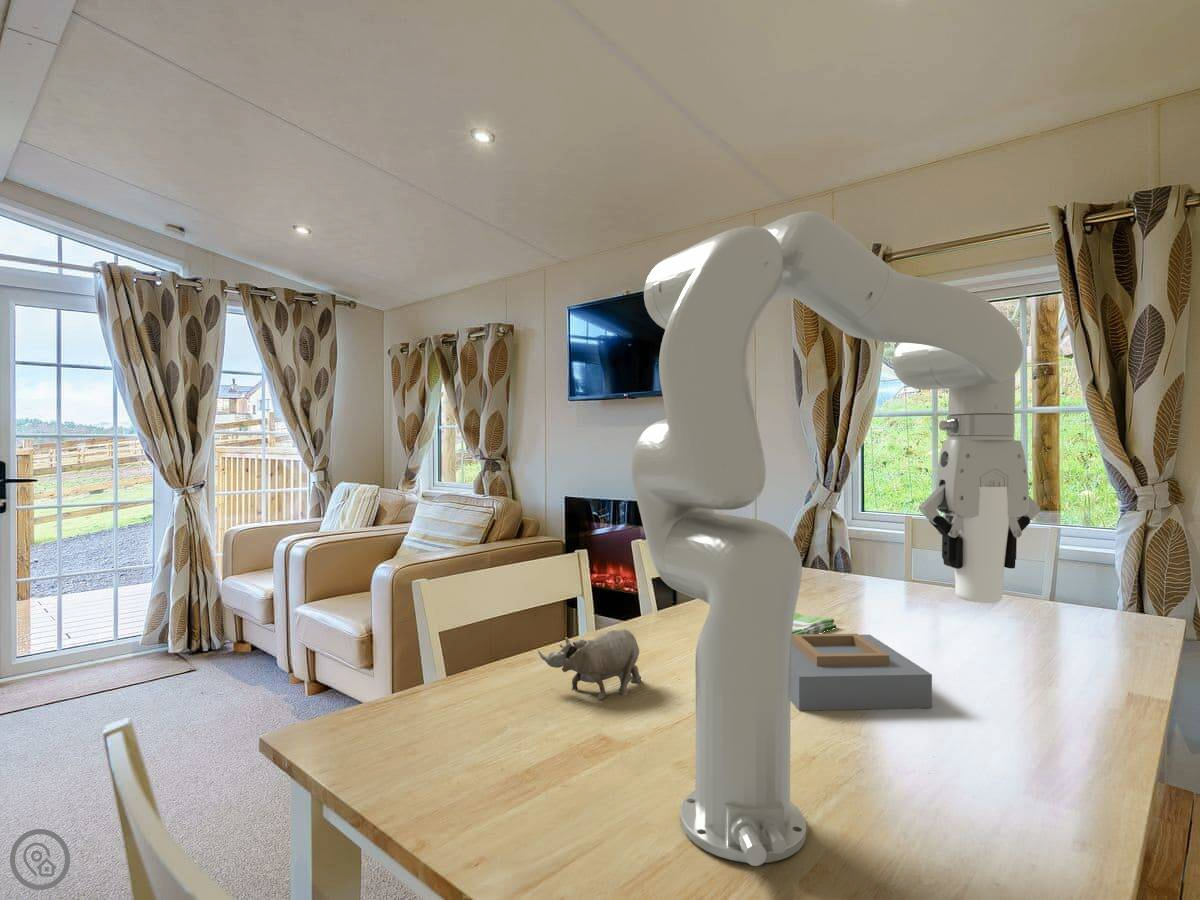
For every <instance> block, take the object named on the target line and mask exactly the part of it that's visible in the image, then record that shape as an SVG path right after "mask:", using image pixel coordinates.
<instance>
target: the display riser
mask: <svg viewBox="0 0 1200 900" xmlns="http://www.w3.org/2000/svg"><path fill="white" fill-rule="evenodd" d="M932 692H933V674H932V673H931V672H929V671H928V670H926V669H924V668H923V667H921V666H919V665H918V664H916V663H915V662H913V661H911V660H910V659H908V658H907V657H906V656H905V655H902V654H901V653H899V652H898V651H896V650H894V649H893V648H892V647H889V646H888V645H886V644H885V643H884V642H882V641H880V639H878V638H876V637H874V636H873V635H871V634H858V633H823V634H792V641H791V700H790V703H792V704H793V705H794V706H795V708H796V709H797V710H798V712H799V711H801V712H802V711H838V710H839V711H841V710H845V711H846V710H847V711H849V710H852V711H853V710H854V709H855V710H895V709H896V710H899V709H903V710H905V709H932V708H933V706H932V705H933V701H932V700H933V699H932V698H933V693H932Z"/></svg>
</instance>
